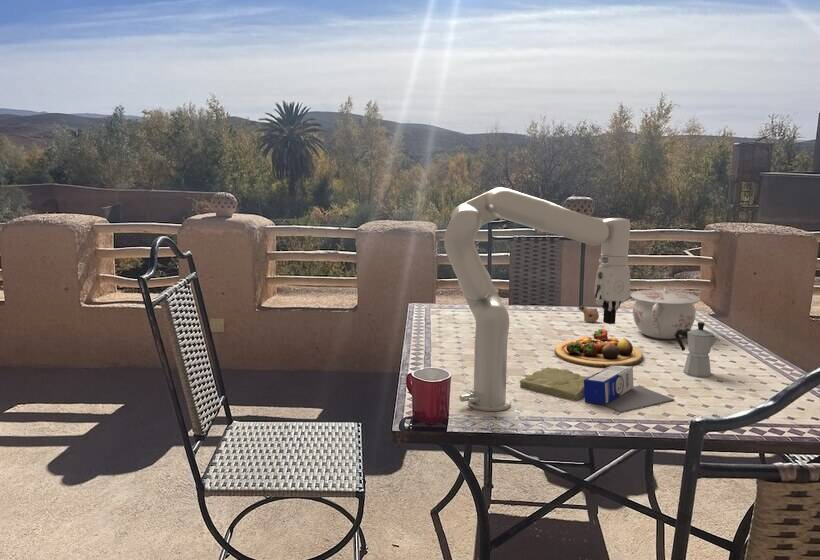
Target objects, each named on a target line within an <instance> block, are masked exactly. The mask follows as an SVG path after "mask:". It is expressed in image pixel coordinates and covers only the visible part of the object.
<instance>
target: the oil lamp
mask: <svg viewBox="0 0 820 560" xmlns="http://www.w3.org/2000/svg"><path fill="white" fill-rule="evenodd" d="M578 310H579V311H581V312H582V313H583V320H584V322H588V323H593V324H594V323H596V322H597V321H599V319H600V318H599V317H600V315H599V311H598V309H597V308H595V307H594V308H590V307H589V308H588V307H587V306H585V305H584V304H581V305H579V307H578Z"/></svg>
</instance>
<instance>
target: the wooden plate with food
mask: <svg viewBox="0 0 820 560" xmlns="http://www.w3.org/2000/svg"><path fill="white" fill-rule="evenodd" d="M554 354H555V356H556V357H558V358H559V359H561V360H563V361H565V362H567V363H571V364H575V365H578V366H583V367H591V368H598V369H599V368H601V369H602V368H603V369H606V368H608V367H610V366H628V367H633V366H635V365H637V363H638V364H639V363H641V361H642V360H643V356H644V355H643V352H642V351H641V350H640V349H638V348H637V347H636V346H634V345H632V342H631V341H630V340H628V339H627V338H625V337H624V338H622V339H620V340H618V338H615V337H609V336H608V331H607V330H606V329H605V328H598V330H595V331H594V333H593V337H592V336H587V335H584V336H581V337H579V338H577V339H572V340H566V341H564V342H560V343H559V344H557V345H556V346H555V348H554ZM632 365H633V366H632Z"/></svg>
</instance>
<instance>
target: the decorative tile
mask: <svg viewBox="0 0 820 560" xmlns="http://www.w3.org/2000/svg"><path fill="white" fill-rule="evenodd" d="M588 377H589V376H585V375H580V374H579V373H575V372H573V371H571V370H569V369H559V368H556V367H545V368H542V369H541V370H536V371H534V372H533V373H532V374H529V375H527V376H525V378H522V379H521V380H520V383H519V387H520V388H524V389H527V390H532V391H535V392H540V393H544V394H549V395H551V396H555V397H560V398H563V399H567V400H571V401H572V400H573V401H575V400H576V401H579V400H581V399H583V398H585V396H584V380H585V379H587V378H588Z"/></svg>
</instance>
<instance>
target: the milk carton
mask: <svg viewBox="0 0 820 560" xmlns="http://www.w3.org/2000/svg"><path fill="white" fill-rule="evenodd" d="M587 377H588V378H587V379H585V380H584V402H586V403H591V404H599V405H602V404H604V405H603V406H605V405H606V404H607V403H609V402H611V401H612V400H614V399H616V398H617V397H619V396H621V395H622V394H624V393H625V392H627V391H629V390H630V389H632V388H634V387H635V386H634V367H633V366H610V367H608V368H603V369H602V370H600V371H598V372H596V373H594V374H593V375H590V376H587Z"/></svg>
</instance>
